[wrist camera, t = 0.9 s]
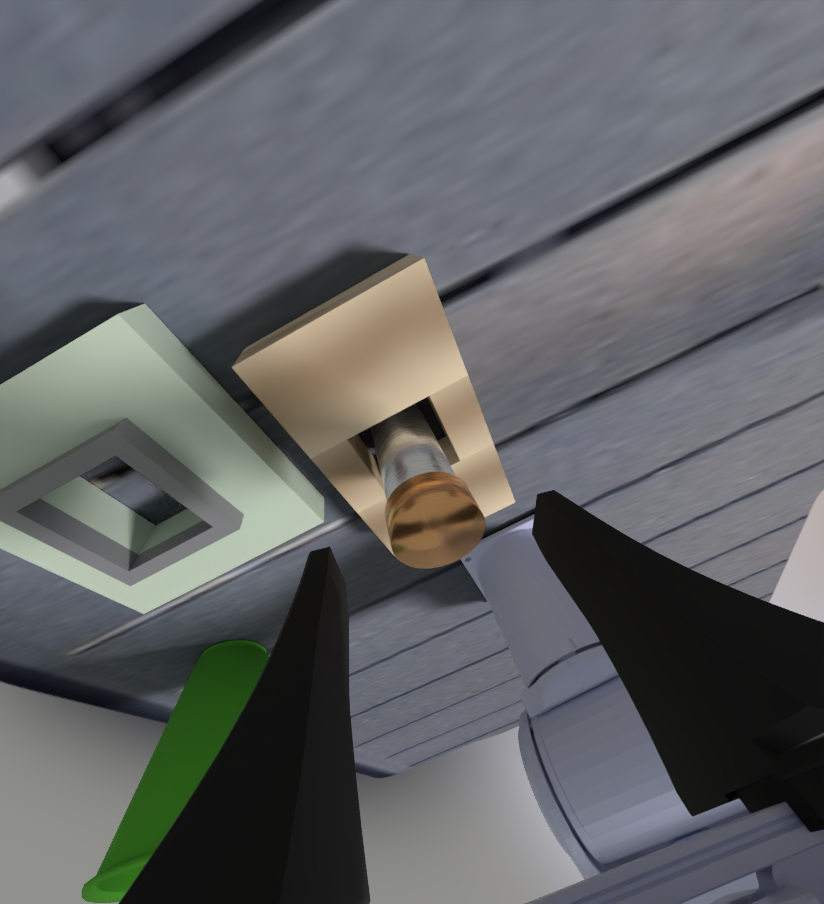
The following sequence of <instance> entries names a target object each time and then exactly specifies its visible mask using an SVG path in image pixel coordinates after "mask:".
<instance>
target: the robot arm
mask: <svg viewBox="0 0 824 904" xmlns="http://www.w3.org/2000/svg"><path fill="white" fill-rule="evenodd" d="M461 561H462V563H463V564H464V566H465V567H466V569H467V570H468V572H469V574H470V575H471V577H472V578H473V580H474V581H475V583H476V584H477V586H478V588H479V589H480V591H481V592H482V594H483V595H484V597H485V598H486V600H487V602H488V603H489V605H490V606H491V609H492V611H493V613H494V615H495V618H496V620H497V622H498V625H499V627H500V629H501V631H502V634H503V636H504V638H505V640H506V643H507V645H508V647H509V650H510V652H511V654H512V656H513V659H514V661H515V663H516V666H517V668H518V670H519V672H520V675H521V677H522V679H523V682H524V684H525V686H526V688H527V690H525V691H523V692H522V693H520V696H521V698H522V701H523V703H524V705H525V708H526V710H525V711H523V712H522V713H521V715H520V719H519V732H518V740H519V747H520V752H521V756H522V760H523V764H524V767H525V771H526V774H527V776H528V780H529V782H530V785H531V788H532V790H533V793H534V795H535V798H536V800H537V802H538V805H539V807H540V809H541V811H542V813H543V815H544V817H545V819H546V821H547V823H548V825H549V827H550V829H551V830H552V832H553V834H554V836H555V837H556V839H557V840H558V842H559V843H560V845H561V846H562V847H563V849H564V850H565V852H566V853H567V854H568V855H569V856H570V857H571V859H572V860H573V861H574V863H575V865H576V866H577V868H578V869H579V871H580V873H581V874H582V876H583V878H584V879H585V880H583V881H581V882H578V883H576V884H573V885H571V886H568V887H566V888H563V889H561V890H558V891H556V892H553V893H550V894H548V895H545V896H543V897H540V898H538V899H536V900H533V901H530V902H528V903H525V904H824V623H823V622H820V621H817V620H815V619H811V618H809V617H806V616H803V615H801V614H798V613H795V612H792V611H789V610H787V609H784V608H782V607H779V606H776V605H774V604H771V603H768V602H766V601H763V600H761V599H758V598H756V597H753V596H751V595H748V594H746V593H743V592H741V591H739V590H736V589H734V588H731V587H729V586H727V585H724V584H722V583H720V582H717V581H715V580H713V579H711V578H708V577H706V576H704V575H702V574H699V573H697V572H695V571H693V570H691V569H689V568H687V567H685V566H683V565H681V564H679V563H677V562H675V561H673V560H671V559H669V558H667V557H665V556H663V555H661V554H659V553H657V552H655V551H653V550H652V549H650V548H648V547H646V546H644V545H642V544H641V543H639V542H637V541H635V540H633V539H632V538H630V537H628V536H627V535H625V534H623V533H621V532H620V531H618V530H616V529H615V528H613V527H611V526H610V525H608V524H606V523H605V522H603V521H602V520H600V519H598V518H597V517H595V516H594V515H592V514H590V513H589V512H587V511H586V510H584V509H583V508H581V507H580V506H578V505H576V504H575V503H573V502H572V501H570V500H569V499H567V498H566V497H564V496H562V495H561V494H559V493H558V492H556V491H554V490H552V491H548V492H544V493H540V494H537V500H536V507H535V514H533V515H531V516H529V517H527V518H525V519H523V520H521V521H519V522H517V523H515V524H513V525H511V526H509V527H507V528H505V529H503V530H500V531H498V532H496V533H494V534H492V535H490V536H488V537H486V538H484V539H482V540H480V542H479V543H478V544H477V546H476V547H475V548H474V549H473V550H472V551H471V552H469V553H468V554H467V555H466V556H464V557H462V558H461ZM369 903H370V894H369V886H368V879H367V870H366V862H365V854H364V845H363V837H362V828H361V819H360V810H359V801H358V792H357V782H356V771H355V761H354V751H353V740H352V728H351V717H350V702H349V613H348V603H347V595H346V586H345V582H344V579H343V577H342V574H341V572H340V570H339V567H338V565H337V562H336V560H335V558H334V555H333V553H332V550H331V548H330V547H327V548H323V549H319V550H315V551H311V552H310V554H309V555H308V559H307V562H306V565H305V569H304V572H303V575H302V578H301V581H300V584H299V586H298V589H297V592H296V595H295V598H294V600H293V603H292V605H291V608H290V610H289V613H288V616H287V618H286V621H285V623H284V626H283V628H282V630H281V632H280V635H279V637H278V639H277V641H276V644H275V646H274V648H273V650H272V653H271V655H270V657H269V659H268V661H267V664H266V666H265V668H264V670H263V672H262V674H261V676H260V678H259V680H258V682H257V684H256V686H255V688H254V690H253V691H252V693H251V695H250V697H249V699H248V701H247V703H246V705H245V707H244V708H243V710H242V712H241V714H240V716H239V717H238V719H237V721H236V723H235V724H234V726H233V728H232V730H231V732H230V733H229V735H228V737H227V739H226V740H225V742H224V744H223V745H222V747H221V749H220V751H219V752H218V754H217V756H216V757H215V759H214V760H213V762H212V764H211V765H210V767H209V768H208V770H207V772H206V773H205V775H204V776H203V778H202V780H201V781H200V783H199V784H198V786H197V788H196V789H195V791H194V792H193V794H192V795H191V797H190V799H189V800H188V802H187V803H186V805H185V807H184V808H183V810H182V811H181V813H180V814H179V816H178V817H177V819H176V820H175V822H174V823H173V825H172V827H171V828H170V829H169V831H168V832H167V834H166V835H165V837H164V838H163V840H162V841H161V843H160V844H159V846H158V847H157V848H156V850H155V851H154V853H153V854H152V856H151V857H150V859H149V860H148V862H147V863H146V864H145V866H144V867H143V869H142V870H141V872H140V873H139V875H138V876H137V878H136V879H135V881H134V882H133V883H132V885H131V886H130V888H129V889H128V891H127V892H126V894H125V895H124V896H123V898H122V899H121V901H120V902H119V904H369Z"/></svg>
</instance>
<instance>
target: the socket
mask: <svg viewBox="0 0 824 904" xmlns="http://www.w3.org/2000/svg"><path fill="white" fill-rule="evenodd" d="M114 456H117V457H118V458H120V459H121V460H122V461H124V462H125V463H126V464H128V465H129V466H130V467H132V468H133V469H135V470H136V471H137V472H139V473H140V474H141V475H143V476H144V477H145V478H147V479H148V480H150V481H151V482H152V483H154V484H155V485H156V486H158V487H159V488H160V489H162V490H163V491H164V492H166V493H167V494H169V495H170V496H171V497H173V498H174V499H175V500H177V501H178V502H179V503H181V504H182V505H184V506H185V507H186V508H187V509H186V510H184V511H182V512H180V513H178V514H176V515H174V516H172V517H171V518H169V519H167V520H165V521H163V522H161V523H159V524H158V525H156V526H155V525H154V524H152V523H151V522H149V521H148V520H146V519H145V518H143V517H142V516H140V515H139V514H137V513H135V512H134V511H132V510H131V509H129V508H128V507H126V506H125V505H123V504H122V503H120V502H119V501H117V500H115V499H114V498H112V497H111V496H109V495H108V494H106V493H105V492H103V491H102V490H100V489H99V488H97V487H96V486H94V485H92V484H91V483H89V482H88V481H86V480H85V479H83V478H82V477H80V475H82V474H84V473H86V472H88V471H89V470H91V469H93V468H95V467H96V466H98V465H100V464H102V463H104V462H105V461H107V460H109V459H111V458H113V457H114ZM323 522H324V497H323V496H322V495H321V494H320V493H319V492H318V491H317V489H316V488H315V487H314V486H313V485H312V484H311V483H310V482H309V481H308V480H307V479H306V478H305V476H304V475H303V474H302V473H301V472H300V471H299V470H298V469H297V468H296V467H295V466H294V465H293V463H292V462H291V461H290V460H289V459H288V458H287V457H286V456H285V455H284V454H283V453H282V452H281V450H280V449H279V448H278V447H277V446H276V445H275V444H274V443H273V442H272V441H271V440H270V438H269V437H268V436H267V435H266V434H265V433H264V432H263V431H262V430H261V429H260V428H259V427H258V425H257V424H256V423H255V422H254V421H253V420H252V419H251V418H250V417H249V416H248V415H247V414H246V412H245V411H244V410H243V409H242V408H241V407H240V406H239V405H238V404H237V403H236V402H235V401H234V399H233V398H232V397H231V396H230V395H229V394H228V393H227V392H226V391H225V390H224V389H223V388H222V386H221V385H220V384H219V383H218V382H217V381H216V380H215V379H214V378H213V377H212V376H211V375H210V373H209V372H208V371H207V370H206V369H205V368H204V367H203V366H202V365H201V364H200V363H199V362H198V360H197V359H196V358H195V357H194V356H193V355H192V354H191V353H190V352H189V351H188V350H187V349H186V347H185V346H184V345H183V344H182V343H181V342H180V341H179V340H178V339H177V338H176V337H175V335H174V334H173V333H172V332H171V331H170V330H169V329H168V328H167V327H166V326H165V325H164V324H163V322H162V321H161V320H160V319H159V318H158V317H157V316H156V315H155V314H154V313H153V312H152V311H151V309H150V308H149V307H148V306H147V305H146V304H142V305H140V306H137V307H135V308H132V309H129V310H127V311H124V312H122V313H119V314H117V315H115V316H114V317H112V318H110V319H109V320H107V321H105V322H104V323H102V324H100V325H99V326H97V327H95V328H94V329H92V330H90V331H89V332H87V333H85V334H84V335H82V336H80V337H79V338H77V339H75V340H74V341H72V342H70V343H69V344H67V345H65V346H64V347H62V348H60V349H59V350H57V351H56V352H54V353H52V354H51V355H49V356H47V357H46V358H44V359H42V360H41V361H39V362H37V363H36V364H34V365H32V366H31V367H29V368H27V369H26V370H24V371H22V372H21V373H19V374H17V375H16V376H14V377H12V378H11V379H9V380H7V381H6V382H4V383H2V384H1V385H0V548H1V549H3V550H5V551H7V552H9V553H11V554H14V555H16V556H18V557H20V558H22V559H25V560H27V561H29V562H31V563H33V564H35V565H38V566H40V567H42V568H44V569H46V570H49V571H51V572H53V573H55V574H57V575H59V576H62V577H64V578H66V579H68V580H70V581H73V582H75V583H77V584H79V585H81V586H83V587H86V588H88V589H90V590H92V591H94V592H96V593H99V594H101V595H103V596H105V597H107V598H110V599H112V600H114V601H116V602H118V603H120V604H123V605H125V606H127V607H129V608H131V609H134V610H136V611H138V612H140V613H142V614H145V613H147V612H149V611H151V610H153V609H155V608H157V607H159V606H161V605H163V604H164V603H166V602H168V601H170V600H172V599H174V598H176V597H178V596H180V595H182V594H184V593H186V592H188V591H190V590H192V589H194V588H196V587H198V586H200V585H202V584H204V583H206V582H208V581H209V580H211V579H213V578H215V577H217V576H219V575H221V574H223V573H225V572H227V571H229V570H231V569H233V568H235V567H237V566H239V565H241V564H243V563H245V562H247V561H249V560H251V559H253V558H254V557H256V556H258V555H260V554H262V553H264V552H266V551H268V550H270V549H272V548H274V547H276V546H278V545H280V544H282V543H284V542H286V541H288V540H290V539H292V538H294V537H296V536H298V535H299V534H301V533H303V532H305V531H307V530H309V529H311V528H313V527H315V526H317V525H319V524H321V523H323Z"/></svg>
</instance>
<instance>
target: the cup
mask: <svg viewBox="0 0 824 904" xmlns="http://www.w3.org/2000/svg"><path fill="white" fill-rule="evenodd" d="M268 659H269V657H268V654H267V651H266V649H265V648H264V647H263V646H262V645H260V644H258V643H256V642H252V641H246V640H233V641H226V642H222V643H218V644H215V645H213V646H211V647H209V648H208V649H206V650H205V651H204V652H203V653H202V655H201V656H200V657H199V658H198V659H197V661H196V663H195V665H194V668H193V670H192V672H191V674H190V676H189V678H188V680H187V683H186V685H185V687H184V689H183V691H182V693H181V695H180V698H179V700H178V702H177V704H176V706H175V708H174V710H173V712H172V715H171V717H170V719H169V721H168V723H167V725H166V727H165V730H164V732H163V734H162V736H161V738H160V741H159V742H158V745H157V747H156V749H155V751H154V753H153V755H152V757H151V760H150V762H149V764H148V766H147V768H146V770H145V772H144V774H143V777H142V779H141V781H140V783H139V785H138V788H137V790H136V792H135V794H134V796H133V798H132V800H131V802H130V804H129V807H128V809H127V811H126V813H125V815H124V817H123V820H122V821H121V824H120V826H119V828H118V830H117V832H116V834H115V836H114V839H113V841H112V843H111V845H110V847H109V849H108V851H107V853H106V856H105V858H104V860H103V862H102V864H101V867H100V868H99V871H98V873H97V875H96V876H95V877H94V878H92V879H91V880H90V881H88V882H87V883H86V884H84V887H83V889H82V898H83V899H84V900H85V901H88V902H94V903H107V902H108V903H111V902H120V901H121V899H122V898H123V896H124V895H125V894H126V892H127V891H128V889H129V888H130V886H131V885H132V883H133V882H134V881H135V879H136V878H137V876H138V875H139V873H140V872H141V870H142V869H143V867H144V866H145V864H146V863H147V862H148V860H149V859H150V857H151V856H152V854H153V853H154V851H155V850H156V848H157V847H158V846H159V844H160V843H161V841H162V840H163V838H164V837H165V835H166V834H167V832H168V831H169V829H170V828H171V827H172V825H173V823H174V822H175V820H176V819H177V817H178V816H179V814H180V813H181V811H182V810H183V808H184V807H185V805H186V803H187V802H188V800H189V799H190V797H191V795H192V794H193V792H194V791H195V789H196V788H197V786H198V784H199V783H200V781H201V780H202V778H203V776H204V775H205V773H206V772H207V770H208V768H209V767H210V765H211V764H212V762H213V760H214V759H215V757H216V756H217V754H218V752H219V751H220V749H221V747H222V745H223V744H224V742H225V740H226V739H227V737H228V735H229V733H230V732H231V730H232V728H233V726H234V724H235V723H236V721H237V719H238V717H239V716H240V714H241V712H242V710H243V708H244V707H245V705H246V703H247V701H248V699H249V697H250V695H251V693H252V691H253V690H254V688H255V686H256V684H257V682H258V680H259V678H260V676H261V674H262V672H263V670H264V668H265V666H266V664H267V661H268Z"/></svg>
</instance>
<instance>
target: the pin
mask: <svg viewBox="0 0 824 904" xmlns="http://www.w3.org/2000/svg"><path fill="white" fill-rule="evenodd" d="M371 433H372V437H373V442H374V446H375V451H376V455H377V460H378V464H379V468H380V473H381V477H382V482H383V486H384V491H385V495H386V499H387V502H386V506H385V519H386V524H387V529H388V534H389V538H390V543H391V548H392V552H393V554H394V555H395V557H396V558H397V559H398V560H399V561H400V562H402V563H403V564H405V565H407V566H410V567H414V568H422V569H428V568H436V567H441V566H445V565H448V564H451V563H453V562H455V561H457V560H459V559H461V558H462V557H464V556H466V555H467V554H468V553H469V552H471V551H472V550H473V549H474V548H475V547H476V546H477V544H478V543H479V542H480V540H481V538H482V536H483V534H484V531H485V518H484V515H483V513H482V512H481V510H480V508H479V506H478V504H477V503H476V501H475V499H474V497H473V495H472V494H471V492H470V490H469V488H468V487H467V485H466V483H465V482H464V481H463V480H462V479H460V478H459V477H457V476H456V475H455V473H454V471H453V469H452V468H451V466H450V464H449V462H448V460H447V458H446V456H445V454H444V453H443V451H442V449H441V447H440V445H439V443H438V441H437V439H436V438H435V436H434V434H433V432H432V430H431V428H430V426H429V424H428V423H427V421H426V419H425V417H424V415H423V413H422V412H421V410H420V409H419V408H418V407H417V406H416V405H414V404H413V405H411V406H409V407H407V408H405V409H403V410H402V411H400V412H398V413H396V414H394V415H392V416H390V417H388V418H387V419H385V420H383V421H381V422H379V423H377V424H375V425H373V426H371Z"/></svg>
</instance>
